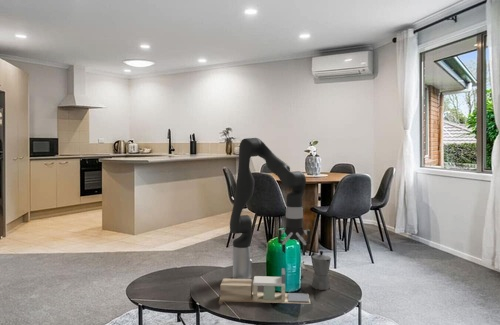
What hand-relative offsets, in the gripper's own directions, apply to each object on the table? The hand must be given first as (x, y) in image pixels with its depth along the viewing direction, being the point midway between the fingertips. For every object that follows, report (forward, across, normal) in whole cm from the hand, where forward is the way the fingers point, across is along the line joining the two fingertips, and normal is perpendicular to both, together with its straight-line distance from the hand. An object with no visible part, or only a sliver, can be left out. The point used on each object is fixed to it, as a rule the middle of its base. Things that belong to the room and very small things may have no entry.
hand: (294, 252), depth 176 cm
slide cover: (+14, +11, -1) cm, 18 cm away
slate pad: (+21, -2, -1) cm, 21 cm away
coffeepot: (+22, -13, -22) cm, 34 cm away
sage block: (+21, +11, -1) cm, 24 cm away
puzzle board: (+22, +13, -1) cm, 26 cm away
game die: (+22, -3, -37) cm, 43 cm away
